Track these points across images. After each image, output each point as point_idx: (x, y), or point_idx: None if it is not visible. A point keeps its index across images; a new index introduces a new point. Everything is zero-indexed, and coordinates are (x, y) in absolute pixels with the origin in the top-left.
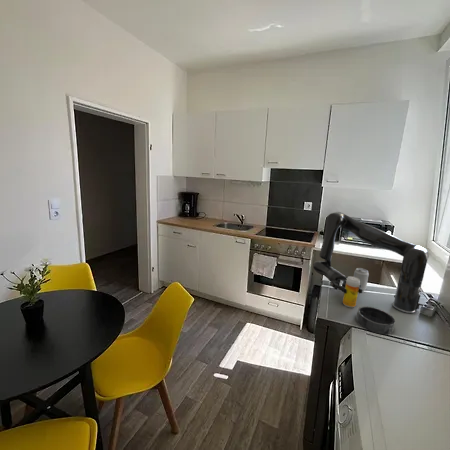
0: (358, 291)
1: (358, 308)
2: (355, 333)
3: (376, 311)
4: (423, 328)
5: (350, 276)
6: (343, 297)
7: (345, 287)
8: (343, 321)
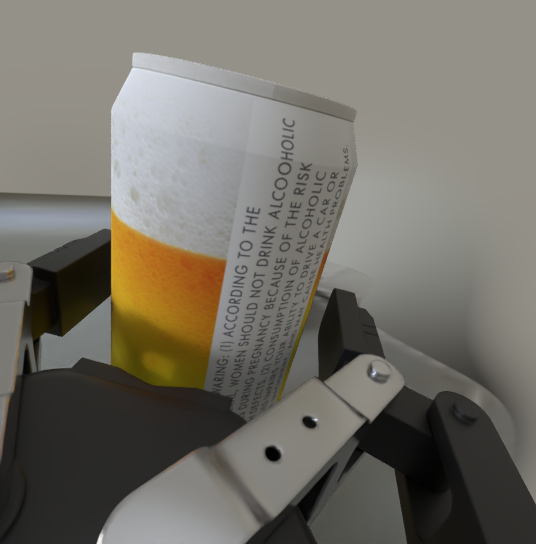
0: (100, 295)
1: None
2: (362, 291)
3: None
4: (33, 216)
5: (230, 79)
6: None
7: (302, 324)
8: (380, 340)
